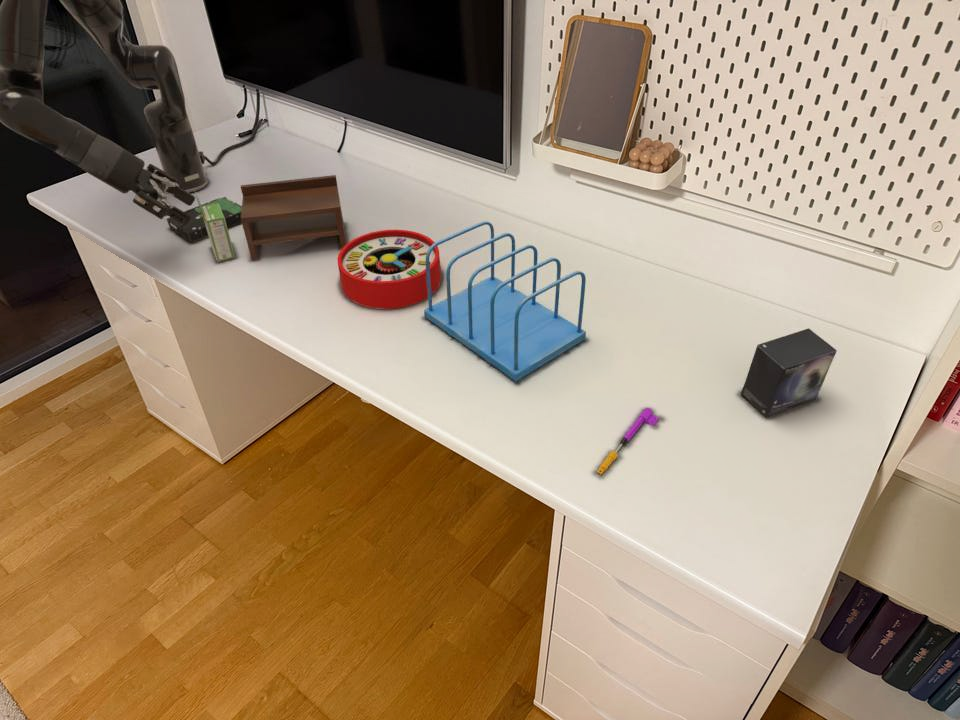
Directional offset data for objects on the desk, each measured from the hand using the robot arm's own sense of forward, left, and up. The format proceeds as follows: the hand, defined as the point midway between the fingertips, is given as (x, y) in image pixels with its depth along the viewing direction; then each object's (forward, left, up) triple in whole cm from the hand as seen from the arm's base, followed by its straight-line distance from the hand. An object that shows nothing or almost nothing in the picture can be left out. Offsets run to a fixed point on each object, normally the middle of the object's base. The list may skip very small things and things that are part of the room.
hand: (190, 211), depth 141 cm
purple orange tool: (+72, +68, -11) cm, 100 cm away
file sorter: (+40, +56, -11) cm, 70 cm away
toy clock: (+19, +38, -11) cm, 44 cm away
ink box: (0, +4, -11) cm, 11 cm away
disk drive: (-14, 0, -11) cm, 18 cm away
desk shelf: (-1, +20, -11) cm, 23 cm away
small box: (+68, +95, -11) cm, 117 cm away
